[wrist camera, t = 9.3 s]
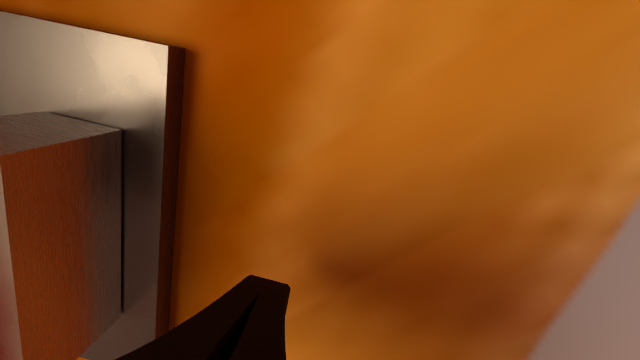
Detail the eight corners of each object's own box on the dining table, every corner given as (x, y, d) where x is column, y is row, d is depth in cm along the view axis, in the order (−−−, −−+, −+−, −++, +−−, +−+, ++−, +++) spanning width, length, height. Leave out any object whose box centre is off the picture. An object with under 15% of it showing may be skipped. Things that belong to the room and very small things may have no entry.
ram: (120, 326, 14) (2, 443, 10) (56, 308, 15) (-88, 413, 10) (121, 115, 11) (-45, 141, 7) (41, 97, 12) (-170, 110, 7)
